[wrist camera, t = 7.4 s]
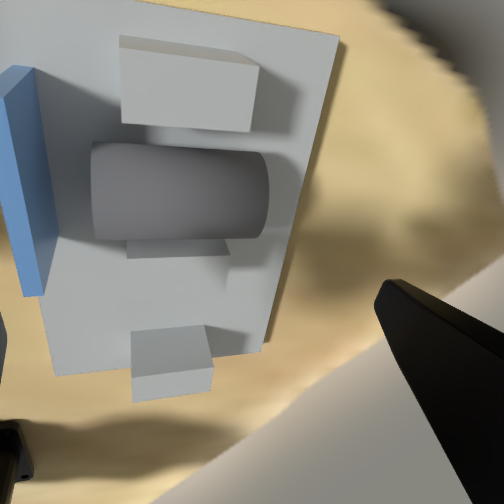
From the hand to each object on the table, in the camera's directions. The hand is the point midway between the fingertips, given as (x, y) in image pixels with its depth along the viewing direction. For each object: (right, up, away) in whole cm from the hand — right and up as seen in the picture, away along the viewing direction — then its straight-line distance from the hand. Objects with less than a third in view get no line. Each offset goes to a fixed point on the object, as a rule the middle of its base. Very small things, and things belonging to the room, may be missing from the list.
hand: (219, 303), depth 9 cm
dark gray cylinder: (-2, +5, +7) cm, 9 cm away
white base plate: (-3, +2, +9) cm, 10 cm away
